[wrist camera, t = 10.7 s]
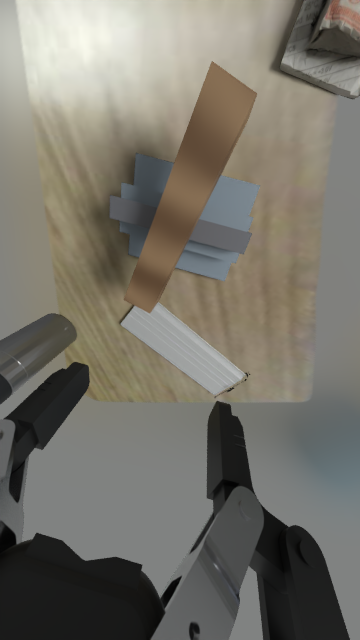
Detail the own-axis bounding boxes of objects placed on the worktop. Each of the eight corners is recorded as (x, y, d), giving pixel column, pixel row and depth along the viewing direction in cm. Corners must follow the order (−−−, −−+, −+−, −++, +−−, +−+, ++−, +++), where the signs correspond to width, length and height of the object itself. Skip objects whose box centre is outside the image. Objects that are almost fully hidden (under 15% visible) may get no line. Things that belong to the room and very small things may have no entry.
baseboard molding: (150, 286, 37) (123, 321, 42) (146, 290, 34) (117, 327, 40) (249, 369, 43) (214, 390, 49) (252, 378, 41) (214, 399, 46)
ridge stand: (223, 278, 33) (227, 295, 25) (132, 252, 34) (108, 262, 26) (256, 188, 26) (276, 173, 18) (140, 157, 26) (111, 130, 19)
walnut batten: (157, 302, 28) (150, 313, 24) (134, 289, 27) (123, 299, 24) (248, 120, 17) (257, 93, 13) (211, 95, 16) (212, 61, 13)
